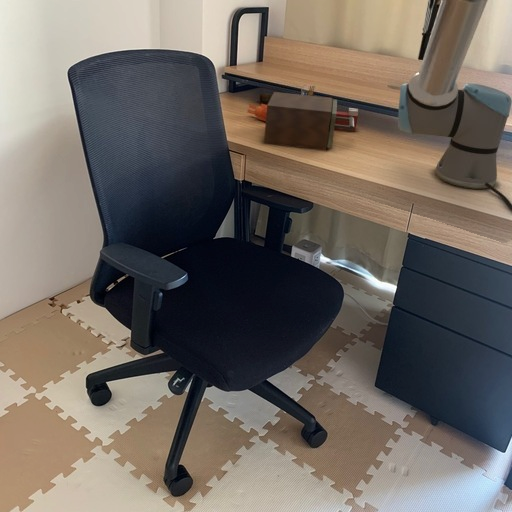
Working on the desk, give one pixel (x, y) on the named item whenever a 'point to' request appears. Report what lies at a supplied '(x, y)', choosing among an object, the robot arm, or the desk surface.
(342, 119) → the drawer
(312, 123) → the cabinet
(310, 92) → the utensil holder
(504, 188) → the desk surface
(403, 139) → the desk surface
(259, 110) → the orange toy bird
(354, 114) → the red base white blocks
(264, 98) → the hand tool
